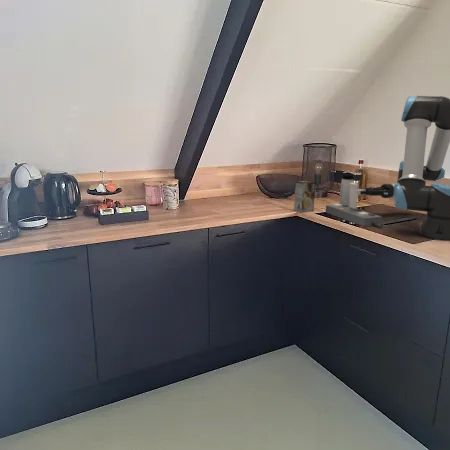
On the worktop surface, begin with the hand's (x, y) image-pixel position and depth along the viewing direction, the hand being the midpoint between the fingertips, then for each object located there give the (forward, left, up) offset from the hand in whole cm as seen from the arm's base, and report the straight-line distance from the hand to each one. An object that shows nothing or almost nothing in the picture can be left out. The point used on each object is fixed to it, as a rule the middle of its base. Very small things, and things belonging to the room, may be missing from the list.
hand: (354, 192), depth 216 cm
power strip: (-4, 0, -13) cm, 14 cm away
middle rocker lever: (-1, 0, -8) cm, 8 cm away
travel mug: (+21, -13, -14) cm, 28 cm away
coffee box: (+21, +15, -14) cm, 30 cm away
